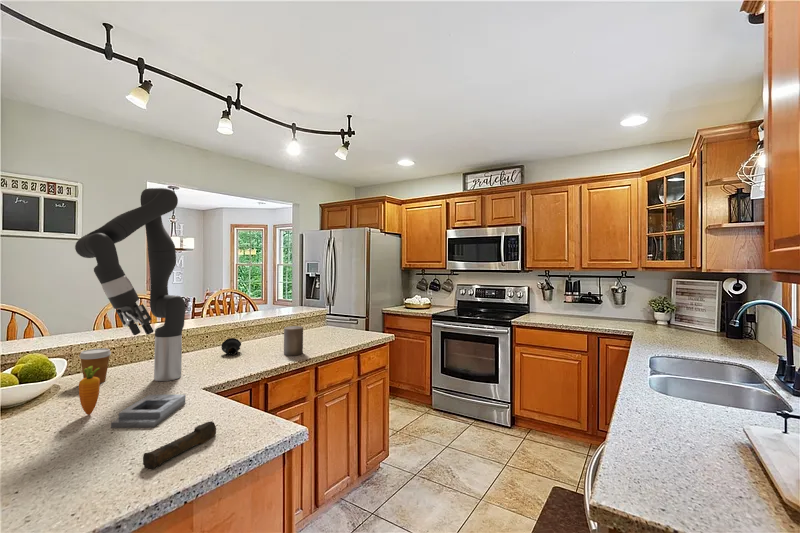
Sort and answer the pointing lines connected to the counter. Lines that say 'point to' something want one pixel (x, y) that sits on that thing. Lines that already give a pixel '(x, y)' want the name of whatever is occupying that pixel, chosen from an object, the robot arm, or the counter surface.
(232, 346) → the black round flared piece
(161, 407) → the shallow gray tray
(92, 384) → the carrot
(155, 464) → the dark brown stick
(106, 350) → the disposable coffee cup
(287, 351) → the pillar candle
